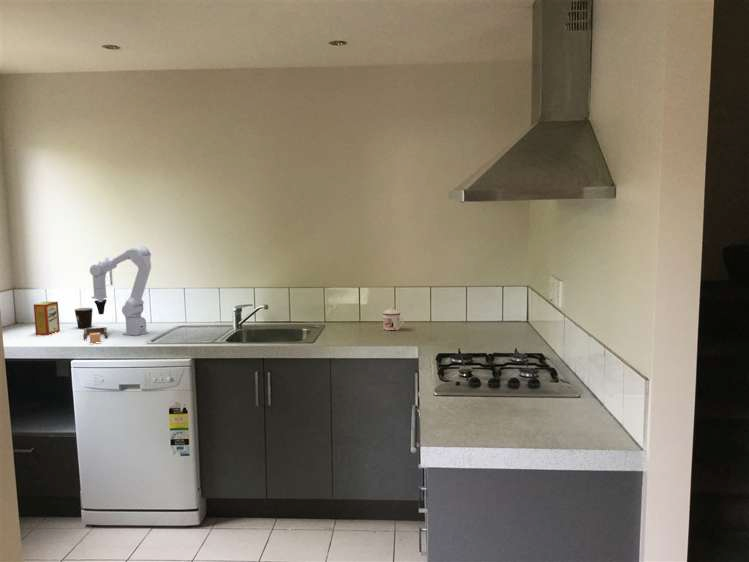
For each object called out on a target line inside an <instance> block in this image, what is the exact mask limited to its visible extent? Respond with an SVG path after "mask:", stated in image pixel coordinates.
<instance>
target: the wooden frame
mask: <svg viewBox="0 0 749 562" xmlns="http://www.w3.org/2000/svg"><path fill="white" fill-rule="evenodd" d="M90 333H100V335H104V339H108V329H107V327H95V328H92V327H91V328H86V329H83V333H82V335H83V341H86V340H85V339H87V340H88V336H90Z"/></svg>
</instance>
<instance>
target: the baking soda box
mask: <svg viewBox="0 0 749 562" xmlns="http://www.w3.org/2000/svg"><path fill="white" fill-rule="evenodd" d="M59 313H60V312H59V303H58V301H42V302H41V301H40V302H39V303H33V315H34V326H35V327H34V328H35V329H34V330H35V335H36V336H50V335H53V334H52V333H54V334H56V333H55V332H57V333H59V331H60V332H61V329H60V326H61V325H60V314H59ZM49 334H50V335H49Z"/></svg>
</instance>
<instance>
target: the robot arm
mask: <svg viewBox="0 0 749 562" xmlns="http://www.w3.org/2000/svg"><path fill="white" fill-rule="evenodd" d="M151 256H152V253H151V251H150V250H149V249H148V248H147V247H145V246H142V247H136V248H134V247H132V248H130V249H127V250H125V251H124V252H121V253H120V254H118V255H117V256H115V257H109V256H108V257H106V258H105V259H104V260H103V261H98V263H97V264H92V265H91V266H90V268H89V273H90V274H91V276H92V285H93V286H92V287H93V296H91V299H95V300H94V303H95V305H96V308H97V312H98V315H104V314H105V313H104V312H105V307H106V303H107V299H106V298H107V288H106V287H107V286H106V283H107V282H106V277H107V276H106V274H108V273H109V272H110V271H113V270H114V269H116V268H117V266H118V264H121V263H123V262H125V261H127V260H130V261H131V262H132V263H133V264H134V265H135V266H136V267H137V269H138V270H137V273H136V276H135V279H134V282H133V286H132V289H131V293H130V297H129V298H128V299H127V300H126V301H125V303H124V305H123V306H122V308H121V313H122V314H123V316H124V318H125V329H126V331H125V332H123V333H122V335H126V336H127V335H129V336H140V335H144V334H147V333H148V331H147V320H146V318H144V317H142V313H143V312H144V303H145V302H144V300H142V299H143V296H144V293H145V292H144V291H145V289H146V286H147V283H148V278H149V275H150V273H151V270H152V269H151V268H152V264H151V263H152V262H151Z"/></svg>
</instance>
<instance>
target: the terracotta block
mask: <svg viewBox="0 0 749 562" xmlns="http://www.w3.org/2000/svg"><path fill="white" fill-rule="evenodd" d="M96 342H101V334H100V333H90V335H89V344H90V343H96Z"/></svg>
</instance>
